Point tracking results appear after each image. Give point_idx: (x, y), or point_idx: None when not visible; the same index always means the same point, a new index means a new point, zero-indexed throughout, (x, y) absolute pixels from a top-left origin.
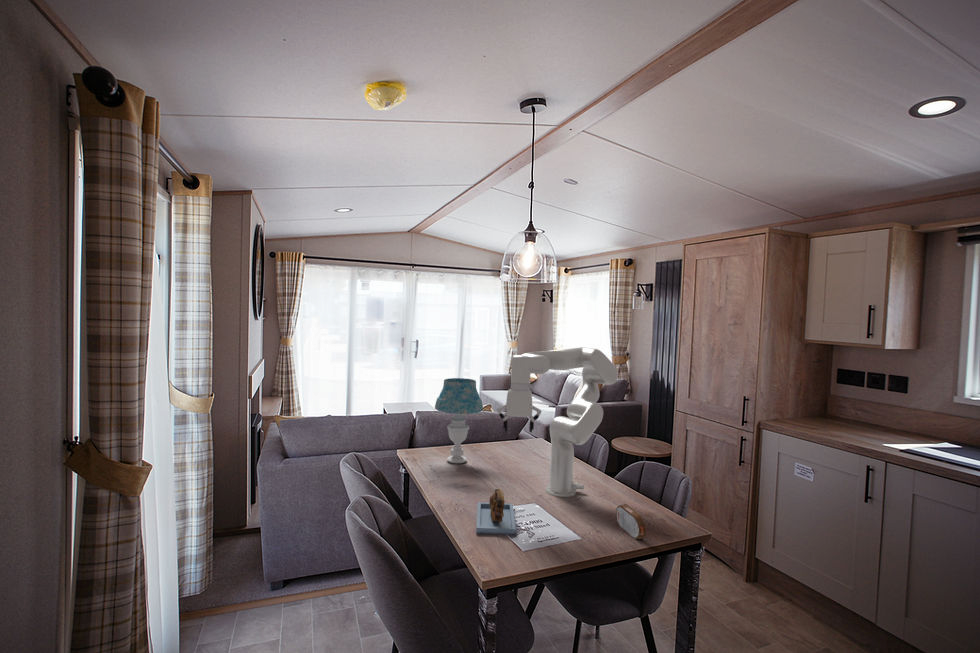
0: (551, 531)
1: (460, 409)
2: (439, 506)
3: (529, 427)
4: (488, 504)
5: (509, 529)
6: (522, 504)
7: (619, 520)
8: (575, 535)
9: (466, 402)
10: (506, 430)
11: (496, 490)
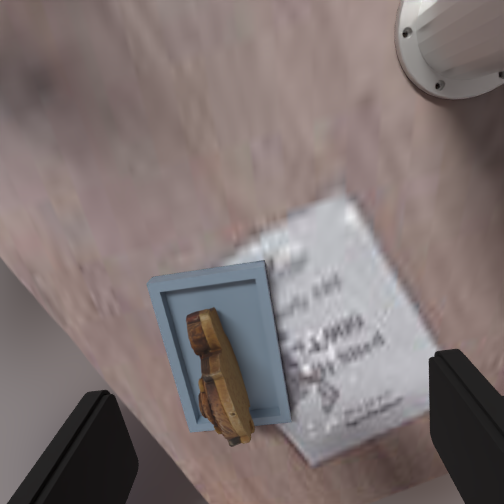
0: (385, 375)
1: None
2: (39, 296)
3: (449, 386)
4: (185, 288)
5: (274, 422)
6: (296, 215)
7: None
8: None
9: None
10: (131, 479)
11: (210, 399)
